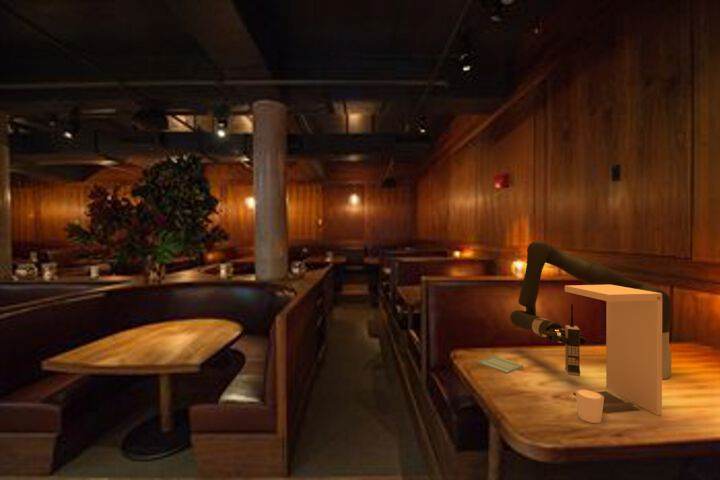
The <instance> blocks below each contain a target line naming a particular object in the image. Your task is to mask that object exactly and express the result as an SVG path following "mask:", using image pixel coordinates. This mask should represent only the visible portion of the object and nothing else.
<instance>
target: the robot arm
mask: <svg viewBox="0 0 720 480" xmlns="http://www.w3.org/2000/svg"><path fill="white" fill-rule="evenodd" d="M546 264H549V265H551V266H554V267H556V268H559V269H560V270H562V271H564V272H565V273H566V274H568V275H570V276H572V277H573V278H575V279H577V280H579V281H580V282H583V283H585V284H586V285H616V286H622V287H628V288H633V289H639V290H645V291H651V292H657V293H662V380H668V379H669V378H672V351H671V350H670V326H671V322H672V320H671V319H672V318H671V317H672V300H671V297H670V296H669V294H668V293H667V292H665V291H664V290H663V289H661V288H659V287H657V286H653V285H650V284H646V283H643V282H640V281H638V280H634V279H632V278H628V276H627V277H626V276H624V275H623V274H621V273H619V272H617V271H615V270H613V269H612V268H609V267H607V266H605V265H603V264H601V263H599V262H596V261H594V260H591V259H588V258H585V257H582V256H578V255H575V254H571V253H569V252H566V251H564V250H561V249H559V248H558V247H555V246H553V245H552V244H550V243H548V242H546V241H545V240H541V239H540V240H533V241H532V242H531V243H529V244H528V246H527V248H526V267H525V273H524V277H523V281H522V285H521V288H520V292H519V296H518V304H519V305H521V306H522V307H524V308H525V310H520V309H519V310H518V309H517V310H516V309H515V310H513V311H512V312H511V313H510V314H509V320H510V322H511V323H512V325H514V326H515V327H517V328H521V329H524V330H528V331H530V332H532V333H534V334H536V335H538V336H539V337H541V339H544V340H546V341H549V342H552V343H557V342H558V343H559V344H564V345H565V344H566V345H568V346H570V345H571V340H570V339H568V338H566V337H565V328H563V326H562V325H561V324H560V323H558V322H556V321H553V320H550V319H547V318H545V317H541V316H538V315H537V310H536V309H537V300H538V295H539V292H540V291H539V290H540V284H541V278H542V273H543V269H544V266H545V265H546ZM580 344H582V345H584V346H586V345H587V344H588V340H587V338H586V337H584V334H583V333H581V332H580Z"/></svg>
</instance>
